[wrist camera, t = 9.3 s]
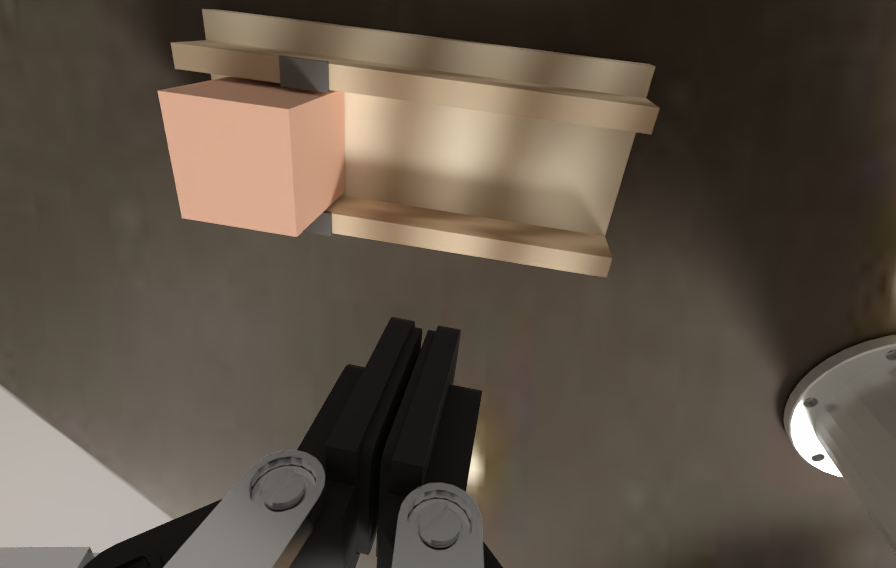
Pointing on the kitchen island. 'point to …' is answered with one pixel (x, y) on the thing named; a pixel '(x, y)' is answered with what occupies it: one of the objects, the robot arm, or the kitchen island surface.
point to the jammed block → (255, 152)
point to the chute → (454, 134)
